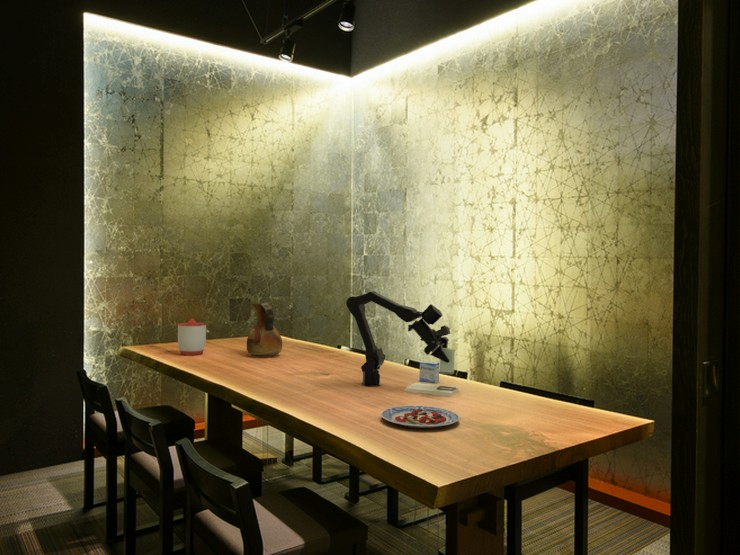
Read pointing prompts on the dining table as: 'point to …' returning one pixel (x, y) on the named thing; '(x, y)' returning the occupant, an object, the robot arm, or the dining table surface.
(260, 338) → the ceramic pitcher
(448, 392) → the ticket base
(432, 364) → the medicine box
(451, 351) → the grey green upright block
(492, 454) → the dining table surface
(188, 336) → the citrus juicer
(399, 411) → the ceramic plate
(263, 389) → the dining table surface
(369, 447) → the dining table surface
